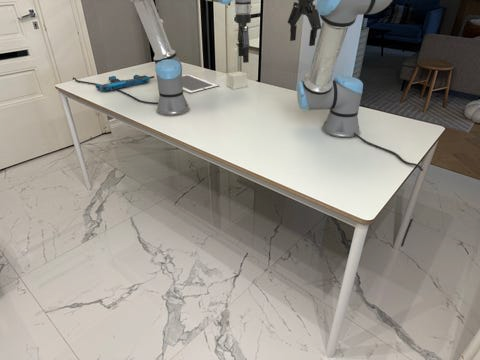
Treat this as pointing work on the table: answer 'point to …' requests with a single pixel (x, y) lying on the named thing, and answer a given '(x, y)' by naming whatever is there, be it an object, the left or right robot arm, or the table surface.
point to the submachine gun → (122, 82)
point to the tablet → (195, 83)
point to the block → (236, 80)
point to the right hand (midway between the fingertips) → (302, 43)
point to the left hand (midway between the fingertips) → (243, 59)
